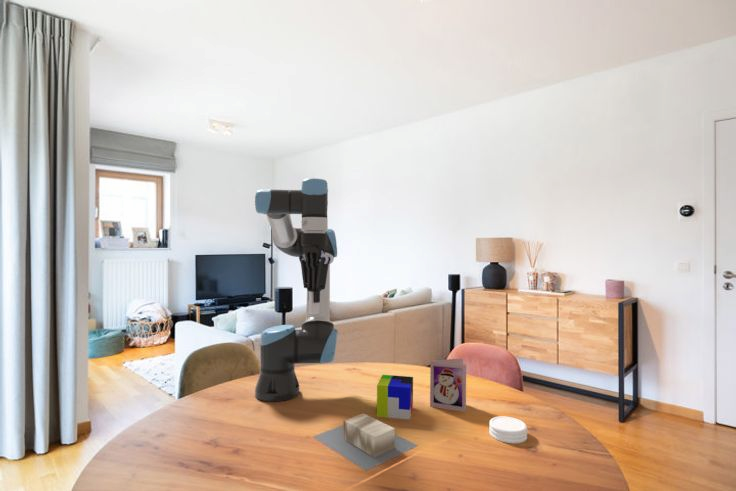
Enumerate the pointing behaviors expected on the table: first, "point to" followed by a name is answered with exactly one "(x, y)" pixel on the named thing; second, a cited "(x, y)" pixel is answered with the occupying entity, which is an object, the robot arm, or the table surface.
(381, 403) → the puzzle toy
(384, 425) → the birch block
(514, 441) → the white round disc stack
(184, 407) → the table surface
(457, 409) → the greeting card
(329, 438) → the slate mat
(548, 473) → the table surface
